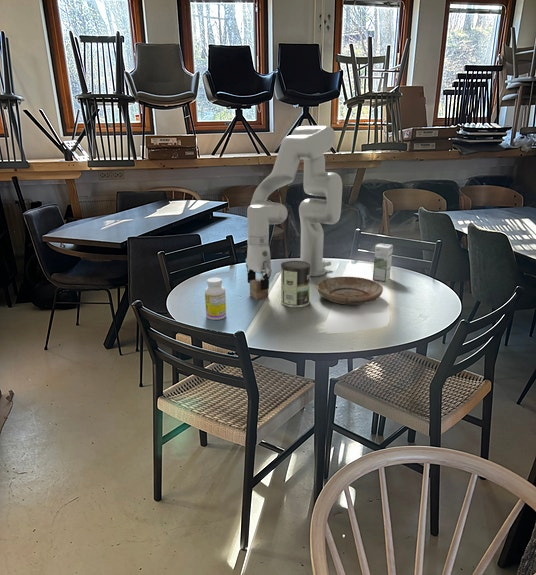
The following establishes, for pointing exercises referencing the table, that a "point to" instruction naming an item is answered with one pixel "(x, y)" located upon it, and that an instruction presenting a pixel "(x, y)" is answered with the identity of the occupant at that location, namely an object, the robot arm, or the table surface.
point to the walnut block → (257, 289)
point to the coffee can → (295, 283)
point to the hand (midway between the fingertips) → (258, 285)
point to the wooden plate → (349, 290)
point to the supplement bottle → (215, 299)
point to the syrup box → (382, 262)
